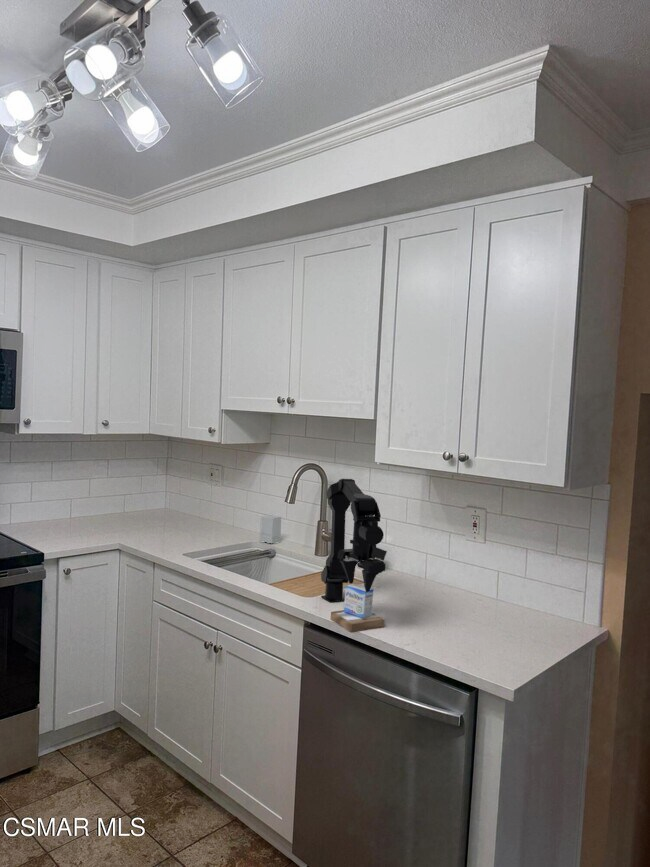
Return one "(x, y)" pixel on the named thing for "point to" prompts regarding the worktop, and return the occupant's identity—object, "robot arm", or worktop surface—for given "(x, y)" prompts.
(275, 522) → the supplement box
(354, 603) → the medicine box
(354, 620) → the brown open-top box
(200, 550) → the worktop surface
